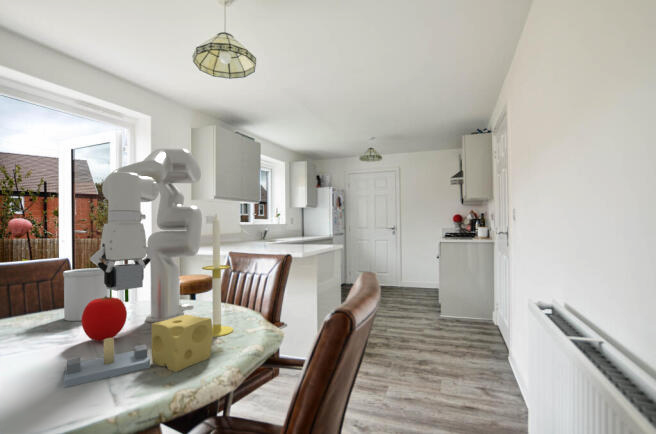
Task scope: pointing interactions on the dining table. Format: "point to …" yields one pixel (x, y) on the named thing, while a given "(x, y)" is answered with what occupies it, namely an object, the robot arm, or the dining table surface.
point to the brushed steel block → (127, 276)
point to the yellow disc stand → (217, 283)
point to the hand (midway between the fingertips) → (124, 284)
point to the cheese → (181, 341)
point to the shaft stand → (106, 364)
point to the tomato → (104, 318)
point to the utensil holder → (82, 291)
